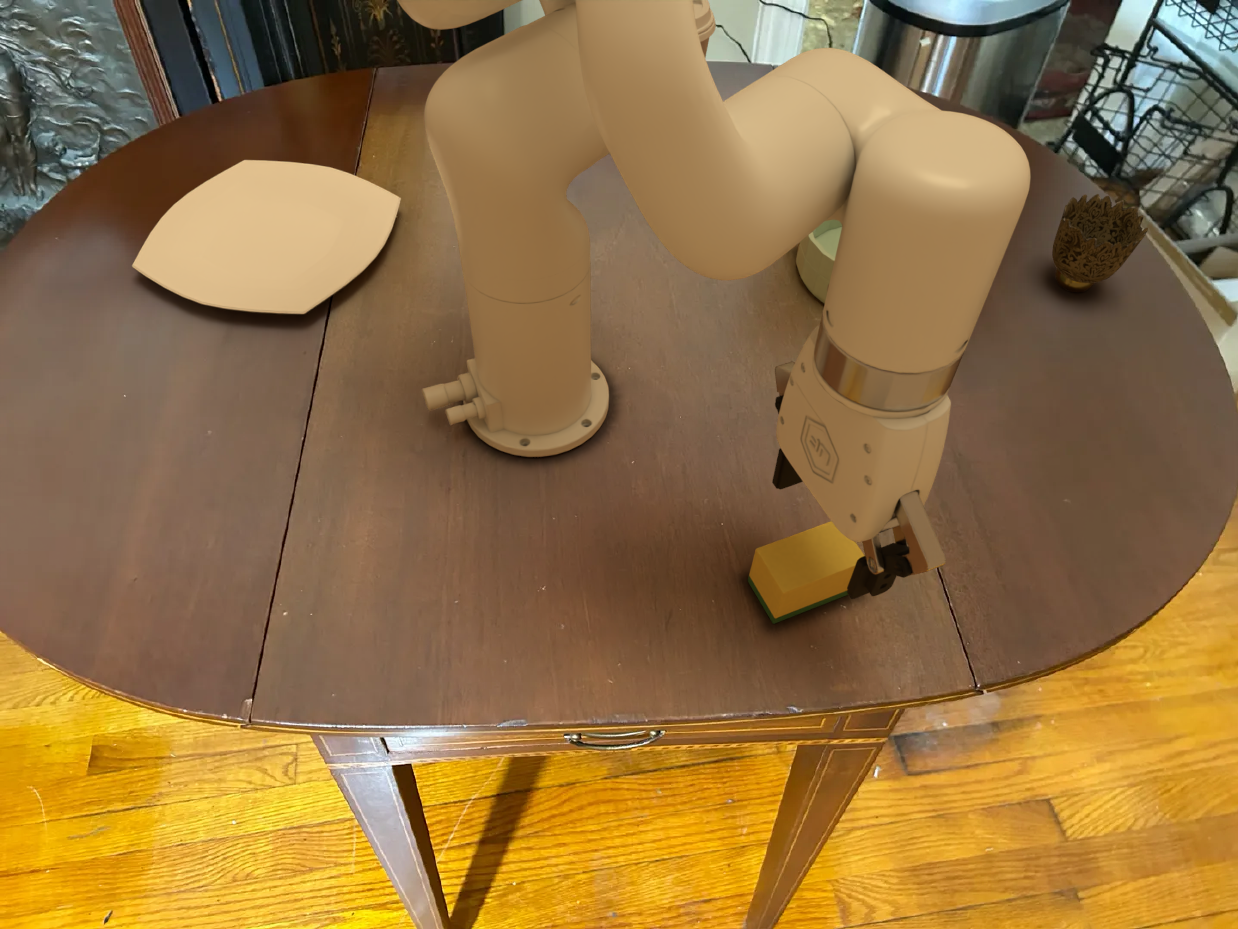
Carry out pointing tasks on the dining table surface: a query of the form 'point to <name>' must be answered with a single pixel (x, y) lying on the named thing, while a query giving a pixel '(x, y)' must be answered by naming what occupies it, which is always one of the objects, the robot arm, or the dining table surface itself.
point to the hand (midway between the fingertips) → (829, 532)
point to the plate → (269, 237)
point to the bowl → (819, 257)
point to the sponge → (803, 571)
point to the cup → (1094, 241)
